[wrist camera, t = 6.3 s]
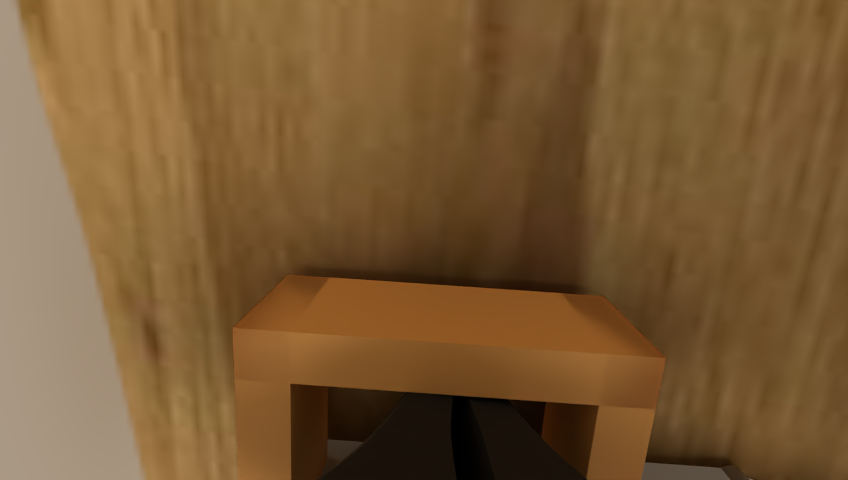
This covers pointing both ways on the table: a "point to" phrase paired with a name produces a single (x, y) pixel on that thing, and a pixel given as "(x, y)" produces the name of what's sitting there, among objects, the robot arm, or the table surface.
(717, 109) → the table surface
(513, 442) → the robot arm
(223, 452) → the table surface
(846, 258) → the table surface
